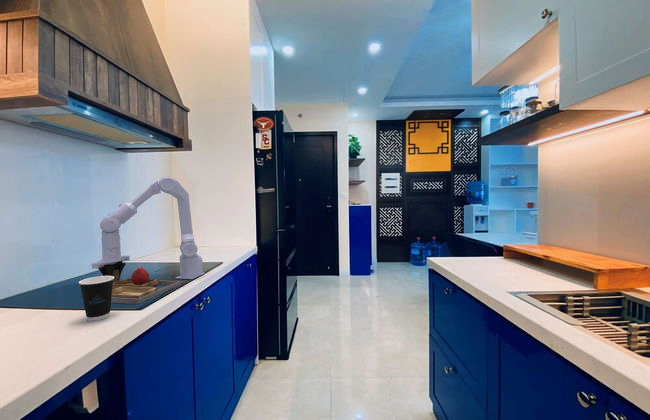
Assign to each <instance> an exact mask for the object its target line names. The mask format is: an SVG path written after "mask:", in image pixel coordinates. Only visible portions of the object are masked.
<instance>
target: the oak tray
mask: <svg viewBox="0 0 650 420" xmlns="http://www.w3.org/2000/svg"><path fill="white" fill-rule="evenodd" d="M157 289H158V287H127V286H122V287H119V288H116V289H114V290H113V287H112V297H117V298H141V297H143V296H145V295H148V294H150V293H152V292H155V291H157Z"/></svg>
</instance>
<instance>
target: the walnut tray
mask: <svg viewBox="0 0 650 420" xmlns="http://www.w3.org/2000/svg"><path fill="white" fill-rule="evenodd" d="M113 277H114V279H113V290H114V289H116V288H119V287H122V286H127V287H154V288H156V286H157V287H158V286H160V285H159V280H160V278H149V280H148V281H147V282H146V283H145V284H143V285H135V284H133V283H132V281H131V277H128V278H124V279H121V280H120V279H119V269H114V272H113Z"/></svg>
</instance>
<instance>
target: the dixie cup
mask: <svg viewBox="0 0 650 420" xmlns="http://www.w3.org/2000/svg"><path fill="white" fill-rule="evenodd" d="M113 279H114V277H113V276H103V275H100V276H93V277H88V278H84V279H82V280H79V281H78V284H79V286H80V290H81V294H82V296H81V297H82V301H83V306H84V311H85V317H87V321H90V322H93V321H100V320H103V319H106V318H108V317H109V316H110V312H111V309H112V307H111V306H112V303H111V298H112V287H113Z"/></svg>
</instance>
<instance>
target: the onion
mask: <svg viewBox="0 0 650 420" xmlns="http://www.w3.org/2000/svg"><path fill="white" fill-rule="evenodd" d="M130 278H131V281H132V283H133V284H135V285H143V284H145V283H146V282H147V281H148V280H149V279H150V272H148V271H147V270H146V269H145V268H143V266H142V265H139V266H138V267H137V268H136V269H135V270H134V271H133V272H132V274H131V275H130Z"/></svg>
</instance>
